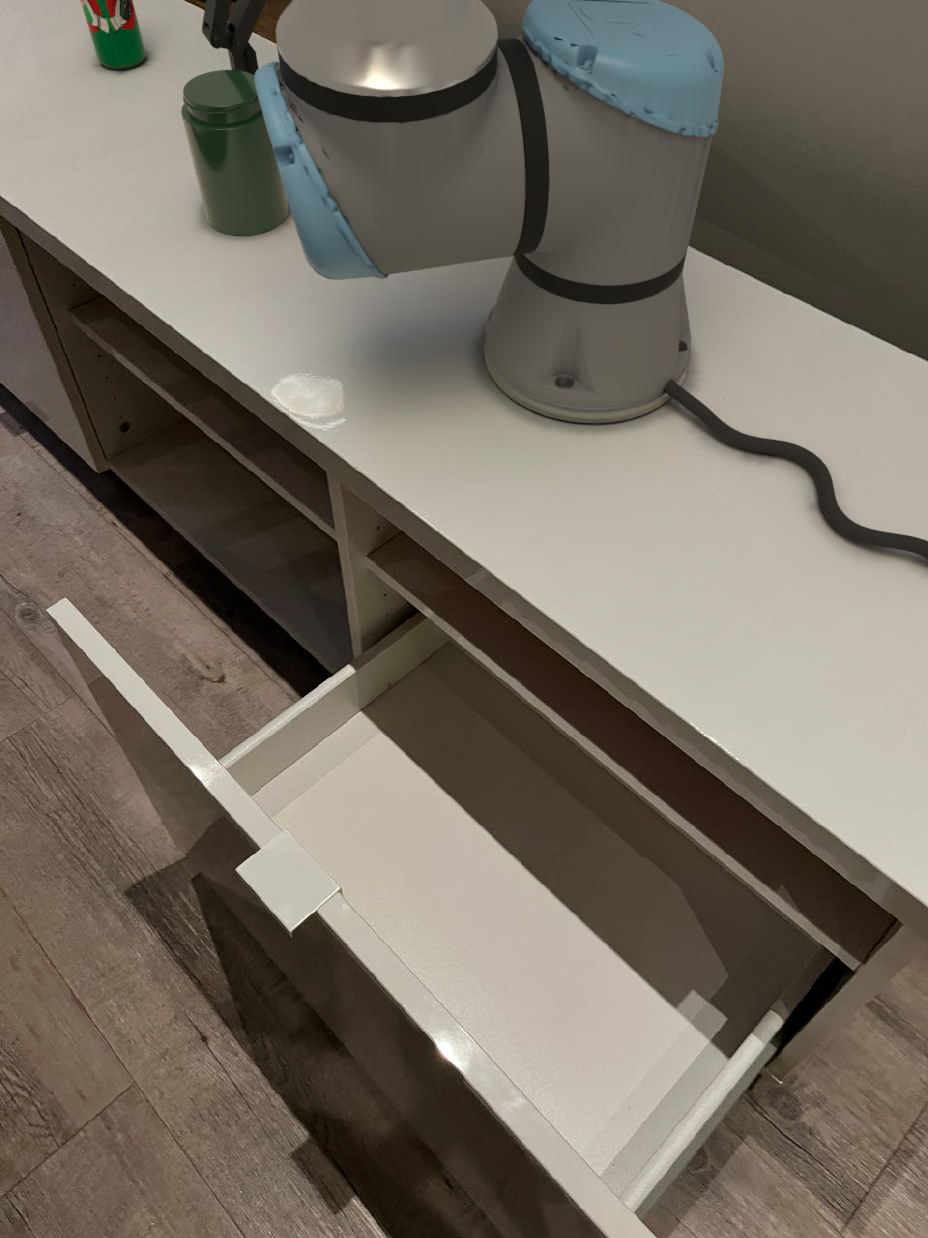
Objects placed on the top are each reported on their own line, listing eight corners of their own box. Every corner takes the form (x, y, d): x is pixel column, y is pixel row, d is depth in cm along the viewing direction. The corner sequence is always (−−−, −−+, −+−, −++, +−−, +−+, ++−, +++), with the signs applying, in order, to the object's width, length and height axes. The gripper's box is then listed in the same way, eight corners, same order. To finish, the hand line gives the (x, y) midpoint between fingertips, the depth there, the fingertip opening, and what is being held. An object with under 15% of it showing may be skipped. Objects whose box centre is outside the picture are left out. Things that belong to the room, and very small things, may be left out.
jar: (300, 223, 80) (280, 97, 72) (220, 243, 78) (190, 116, 70) (273, 183, 84) (252, 59, 76) (196, 202, 82) (165, 77, 74)
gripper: (142, -154, 64) (210, 155, 81) (458, -197, 70) (458, 99, 88) (117, -183, 68) (187, 117, 85) (418, -221, 74) (426, 66, 92)
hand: (325, 108), depth 87 cm, fingers open, 12 cm apart
